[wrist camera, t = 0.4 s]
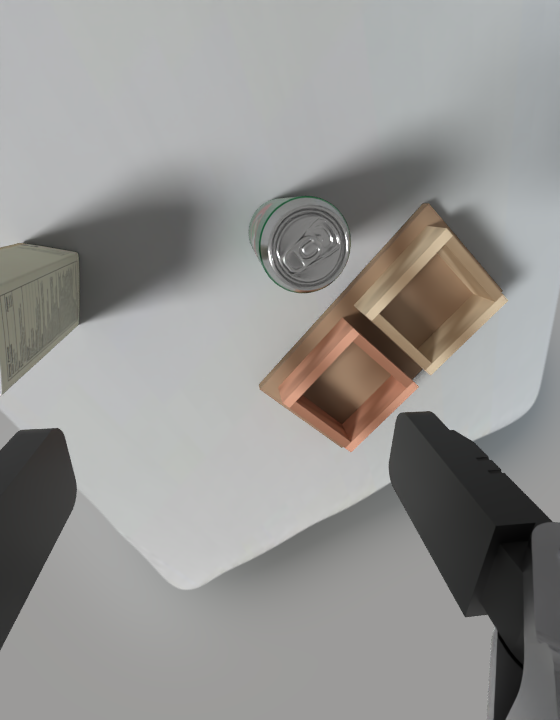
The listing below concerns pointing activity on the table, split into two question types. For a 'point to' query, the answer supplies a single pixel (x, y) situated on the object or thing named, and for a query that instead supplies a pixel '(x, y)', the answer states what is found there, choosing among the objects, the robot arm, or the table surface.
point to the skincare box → (34, 305)
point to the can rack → (386, 331)
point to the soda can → (300, 242)
